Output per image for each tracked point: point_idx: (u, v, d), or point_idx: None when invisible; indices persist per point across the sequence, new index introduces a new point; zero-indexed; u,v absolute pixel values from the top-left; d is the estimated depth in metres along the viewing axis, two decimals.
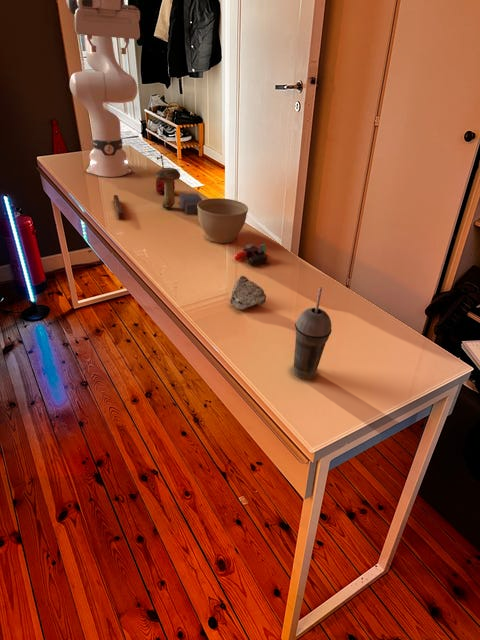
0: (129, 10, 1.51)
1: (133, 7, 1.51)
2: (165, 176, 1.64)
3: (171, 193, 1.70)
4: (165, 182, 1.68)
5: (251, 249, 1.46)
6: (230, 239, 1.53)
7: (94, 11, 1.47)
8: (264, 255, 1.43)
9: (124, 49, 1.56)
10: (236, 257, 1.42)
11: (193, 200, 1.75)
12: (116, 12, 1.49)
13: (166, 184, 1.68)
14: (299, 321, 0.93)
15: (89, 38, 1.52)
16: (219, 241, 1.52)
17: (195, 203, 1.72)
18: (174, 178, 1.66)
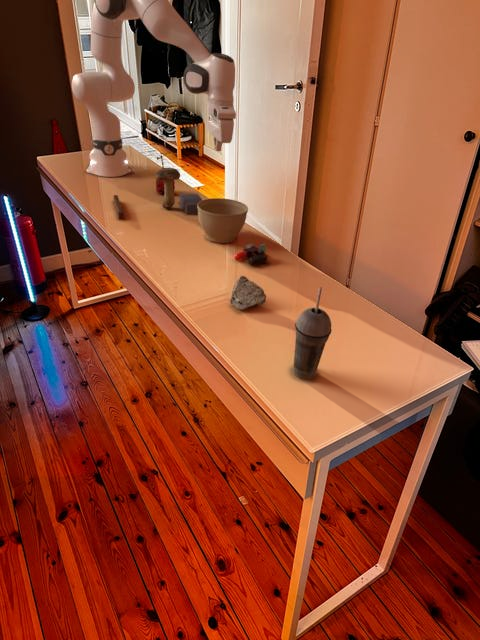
0: None
1: None
2: (165, 176, 1.64)
3: (171, 193, 1.70)
4: (165, 182, 1.68)
5: (251, 249, 1.46)
6: (230, 239, 1.53)
7: None
8: (264, 255, 1.43)
9: None
10: (236, 257, 1.42)
11: (193, 200, 1.75)
12: None
13: (166, 184, 1.68)
14: (299, 321, 0.93)
15: None
16: (219, 241, 1.52)
17: (195, 203, 1.72)
18: (174, 178, 1.66)
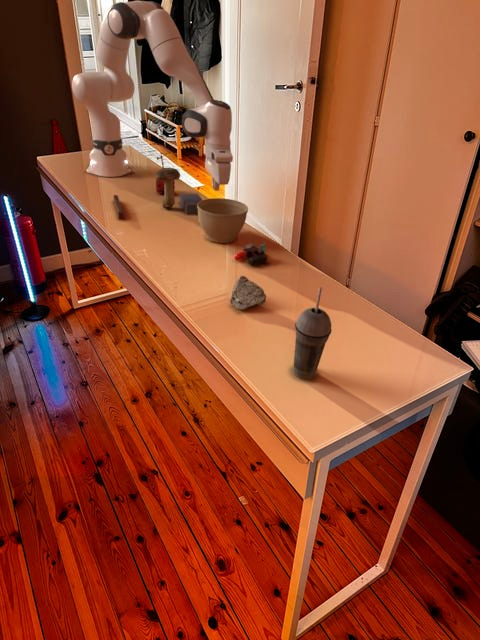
0: None
1: None
2: (165, 176, 1.64)
3: (171, 193, 1.70)
4: (165, 182, 1.68)
5: (251, 249, 1.46)
6: (230, 239, 1.53)
7: None
8: (264, 255, 1.43)
9: None
10: (236, 257, 1.42)
11: (193, 200, 1.75)
12: None
13: (166, 184, 1.68)
14: (299, 321, 0.93)
15: None
16: (219, 241, 1.52)
17: (195, 203, 1.72)
18: (174, 178, 1.66)
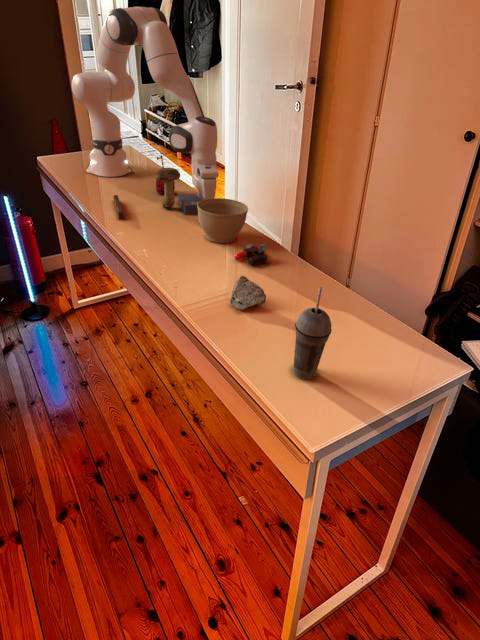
0: None
1: None
2: (165, 176, 1.64)
3: (171, 193, 1.70)
4: (165, 182, 1.68)
5: (251, 249, 1.46)
6: (230, 239, 1.53)
7: None
8: (264, 255, 1.43)
9: None
10: (236, 257, 1.42)
11: (191, 200, 1.75)
12: None
13: (167, 184, 1.68)
14: (299, 321, 0.93)
15: None
16: (219, 241, 1.52)
17: (193, 203, 1.72)
18: (174, 178, 1.66)
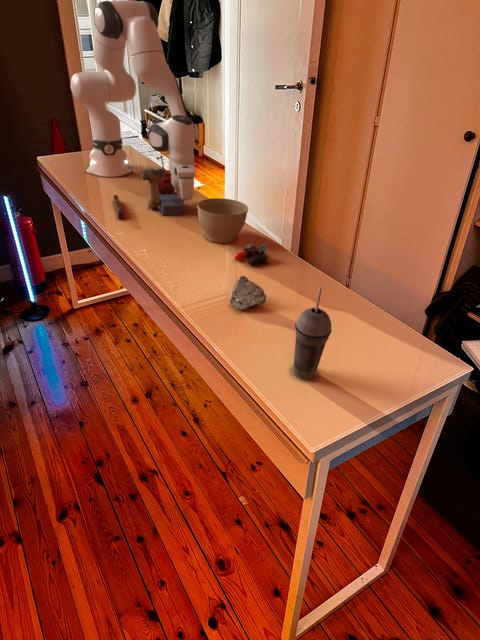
0: None
1: None
2: (149, 176, 1.63)
3: (156, 193, 1.69)
4: (150, 182, 1.67)
5: (251, 249, 1.46)
6: (230, 239, 1.53)
7: None
8: (264, 255, 1.43)
9: None
10: (236, 257, 1.42)
11: (170, 201, 1.72)
12: None
13: (151, 184, 1.67)
14: (299, 321, 0.93)
15: None
16: (219, 241, 1.52)
17: (172, 204, 1.70)
18: (158, 178, 1.64)
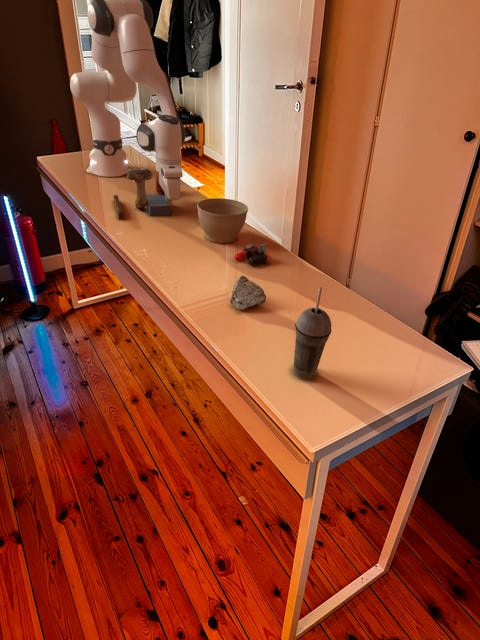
0: None
1: None
2: (134, 176, 1.61)
3: (142, 194, 1.67)
4: (136, 182, 1.66)
5: (251, 249, 1.46)
6: (230, 239, 1.53)
7: None
8: (264, 255, 1.43)
9: None
10: (236, 257, 1.42)
11: (157, 201, 1.70)
12: None
13: (137, 184, 1.66)
14: (299, 321, 0.93)
15: None
16: (219, 241, 1.52)
17: (159, 204, 1.68)
18: (143, 178, 1.63)
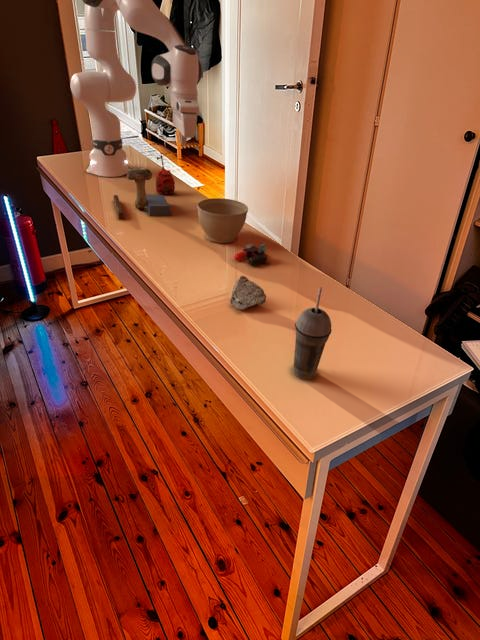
0: None
1: None
2: (134, 176, 1.61)
3: (142, 194, 1.67)
4: (136, 182, 1.65)
5: (251, 249, 1.46)
6: (230, 239, 1.53)
7: None
8: (264, 255, 1.43)
9: None
10: (236, 257, 1.42)
11: (157, 201, 1.70)
12: None
13: (137, 184, 1.66)
14: (299, 321, 0.93)
15: None
16: (219, 241, 1.52)
17: (158, 204, 1.68)
18: (143, 178, 1.62)
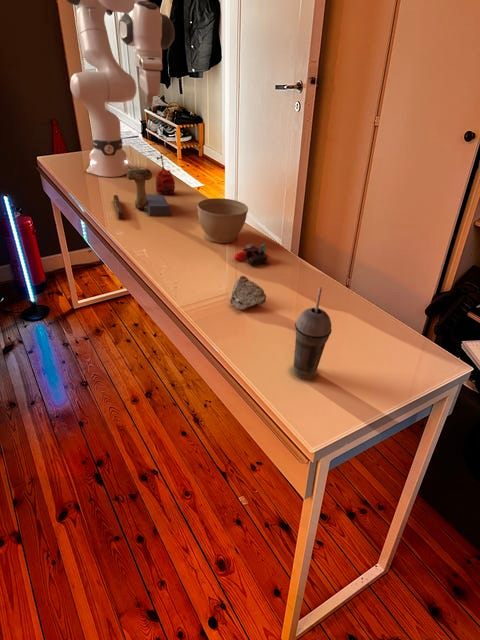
0: None
1: None
2: (134, 176, 1.61)
3: (142, 194, 1.67)
4: (136, 182, 1.65)
5: (251, 249, 1.46)
6: (230, 239, 1.53)
7: None
8: (264, 255, 1.43)
9: None
10: (236, 257, 1.42)
11: (157, 201, 1.70)
12: None
13: (137, 184, 1.66)
14: (299, 321, 0.93)
15: None
16: (219, 241, 1.52)
17: (158, 204, 1.68)
18: (143, 178, 1.62)
